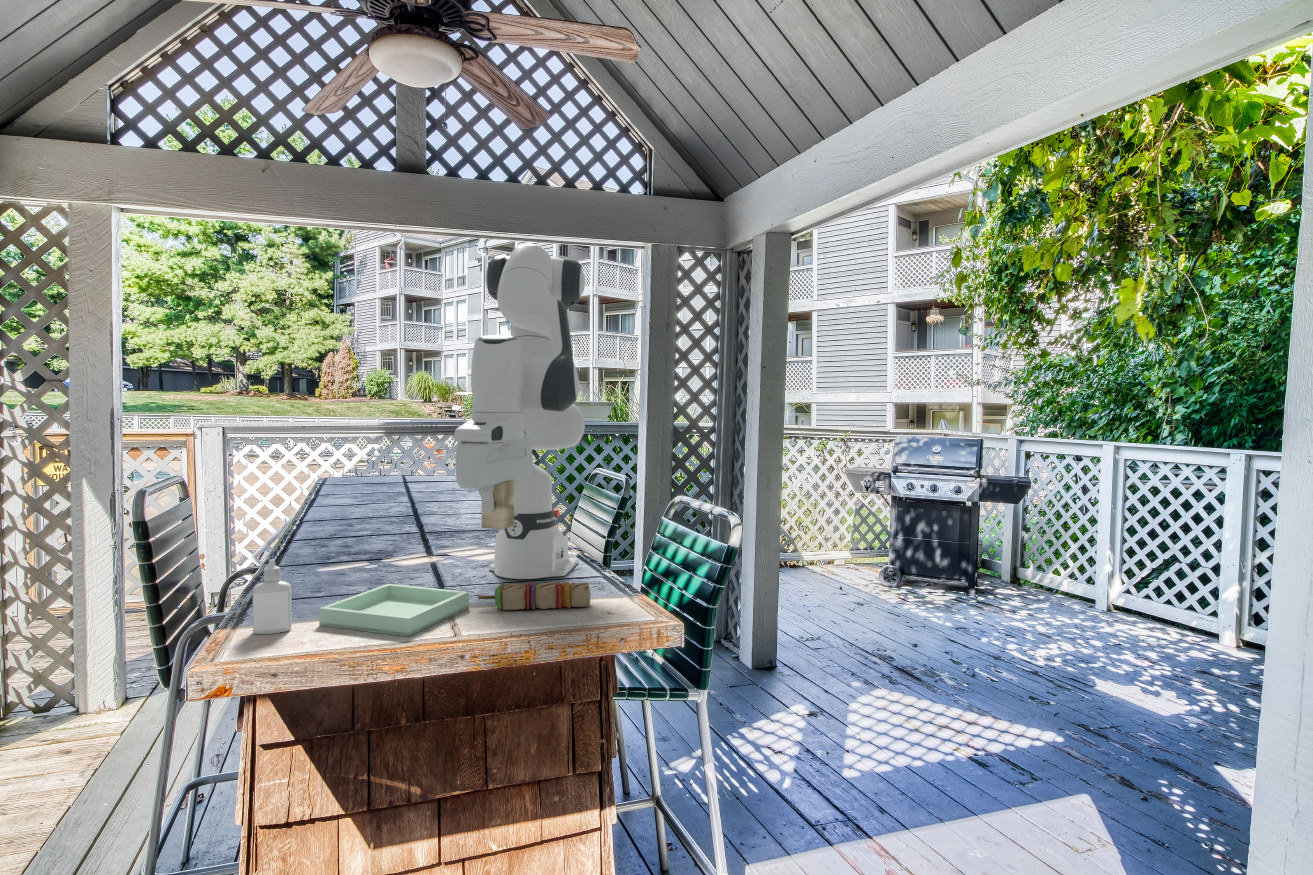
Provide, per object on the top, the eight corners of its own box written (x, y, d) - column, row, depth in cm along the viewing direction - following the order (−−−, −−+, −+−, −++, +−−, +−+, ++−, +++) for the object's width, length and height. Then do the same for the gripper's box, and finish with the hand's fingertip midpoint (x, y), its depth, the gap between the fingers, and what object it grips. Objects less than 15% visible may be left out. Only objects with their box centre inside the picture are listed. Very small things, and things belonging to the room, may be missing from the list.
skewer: (588, 602, 141) (588, 576, 141) (590, 611, 135) (590, 585, 134) (479, 605, 138) (479, 579, 138) (476, 615, 131) (476, 588, 131)
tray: (388, 598, 141) (387, 583, 141) (468, 607, 135) (469, 591, 135) (319, 625, 124) (319, 608, 123) (409, 636, 118) (408, 618, 118)
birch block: (493, 524, 128) (493, 479, 127) (513, 525, 127) (513, 480, 126) (481, 528, 124) (481, 481, 123) (502, 529, 123) (502, 482, 122)
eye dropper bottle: (279, 636, 118) (278, 563, 117) (248, 634, 118) (247, 561, 118) (296, 628, 122) (295, 557, 121) (266, 626, 123) (265, 556, 122)
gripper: (510, 426, 135) (511, 499, 136) (448, 431, 116) (448, 516, 116) (541, 426, 133) (541, 501, 134) (483, 432, 114) (483, 519, 115)
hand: (497, 508), depth 125 cm, fingers closed on birch block, 4 cm apart
